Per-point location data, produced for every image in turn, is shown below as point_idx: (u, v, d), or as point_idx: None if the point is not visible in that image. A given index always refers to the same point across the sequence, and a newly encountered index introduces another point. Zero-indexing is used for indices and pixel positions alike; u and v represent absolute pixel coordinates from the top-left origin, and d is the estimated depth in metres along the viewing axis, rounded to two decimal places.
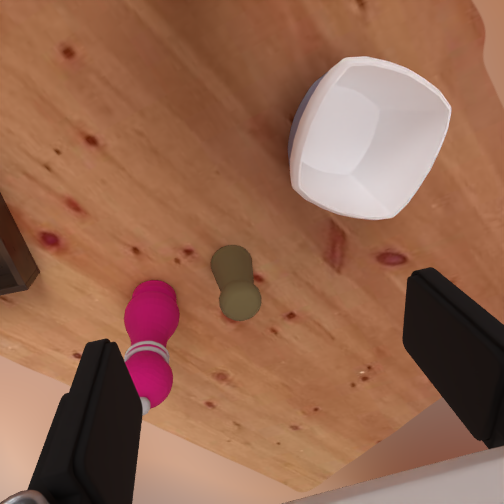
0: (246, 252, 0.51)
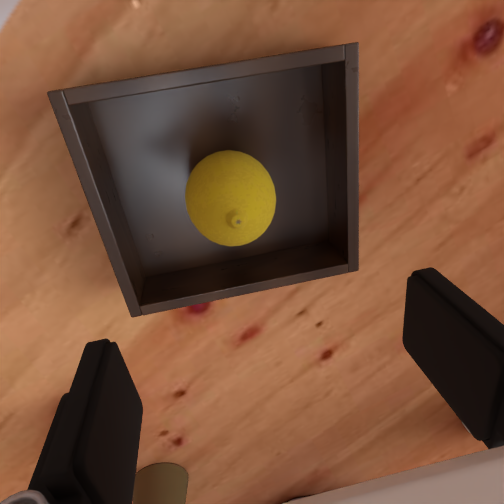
0: None
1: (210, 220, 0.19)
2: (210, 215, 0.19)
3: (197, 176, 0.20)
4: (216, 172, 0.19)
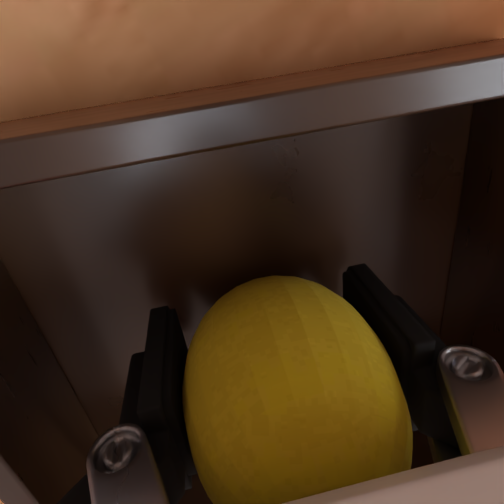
0: None
1: None
2: None
3: (217, 390, 0.07)
4: (272, 402, 0.07)
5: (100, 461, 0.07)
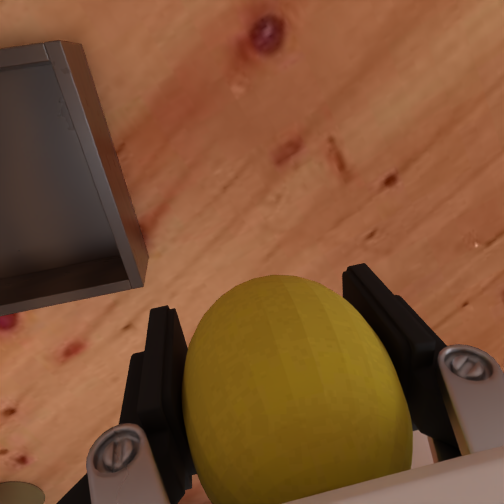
0: None
1: None
2: None
3: (217, 389, 0.07)
4: (272, 402, 0.07)
5: (100, 461, 0.07)
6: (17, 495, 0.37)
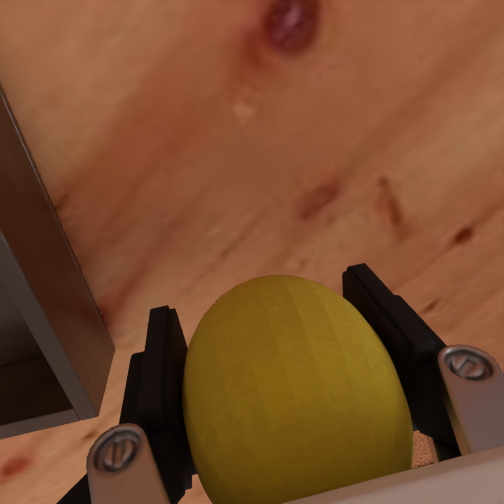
0: None
1: None
2: None
3: (217, 389, 0.07)
4: (272, 402, 0.07)
5: (100, 461, 0.07)
6: None
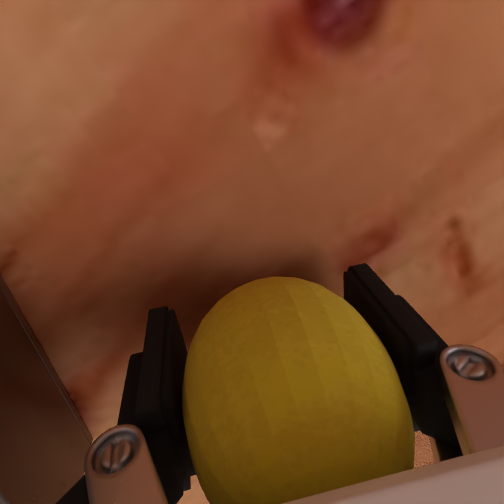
0: None
1: None
2: None
3: (216, 392, 0.07)
4: (272, 406, 0.07)
5: (98, 462, 0.07)
6: None
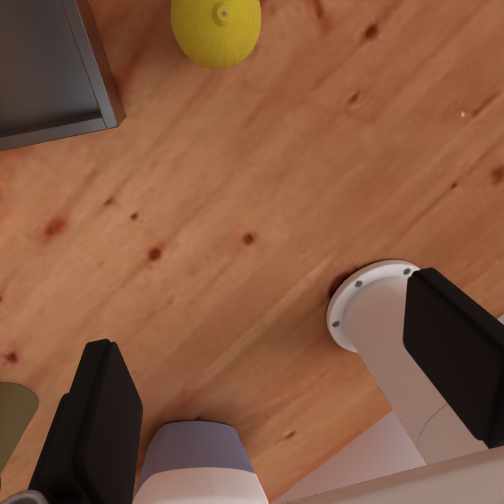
0: None
1: (196, 18, 0.19)
2: (196, 12, 0.19)
3: None
4: None
5: None
6: (9, 394, 0.36)
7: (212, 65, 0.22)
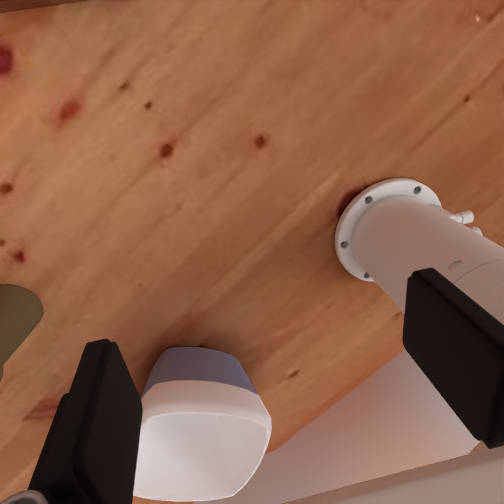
0: (35, 326, 0.39)
1: None
2: None
3: None
4: None
5: None
6: (15, 294, 0.36)
7: None
